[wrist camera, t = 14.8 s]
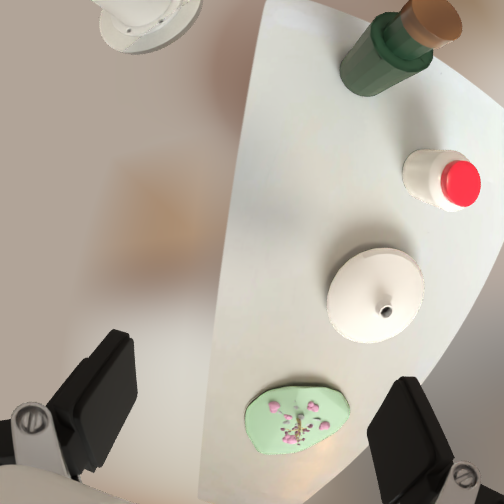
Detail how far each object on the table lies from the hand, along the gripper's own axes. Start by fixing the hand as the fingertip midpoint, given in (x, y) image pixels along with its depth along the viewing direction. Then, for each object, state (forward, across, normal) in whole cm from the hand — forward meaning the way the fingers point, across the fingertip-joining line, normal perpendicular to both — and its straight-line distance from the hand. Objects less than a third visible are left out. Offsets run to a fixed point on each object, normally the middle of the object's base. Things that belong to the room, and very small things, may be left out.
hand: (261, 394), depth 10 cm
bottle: (+34, -9, -22) cm, 42 cm away
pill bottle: (+34, -21, -10) cm, 42 cm away
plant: (+35, -13, +41) cm, 55 cm away
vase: (+34, -18, +9) cm, 40 cm away
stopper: (+19, -9, -22) cm, 30 cm away
